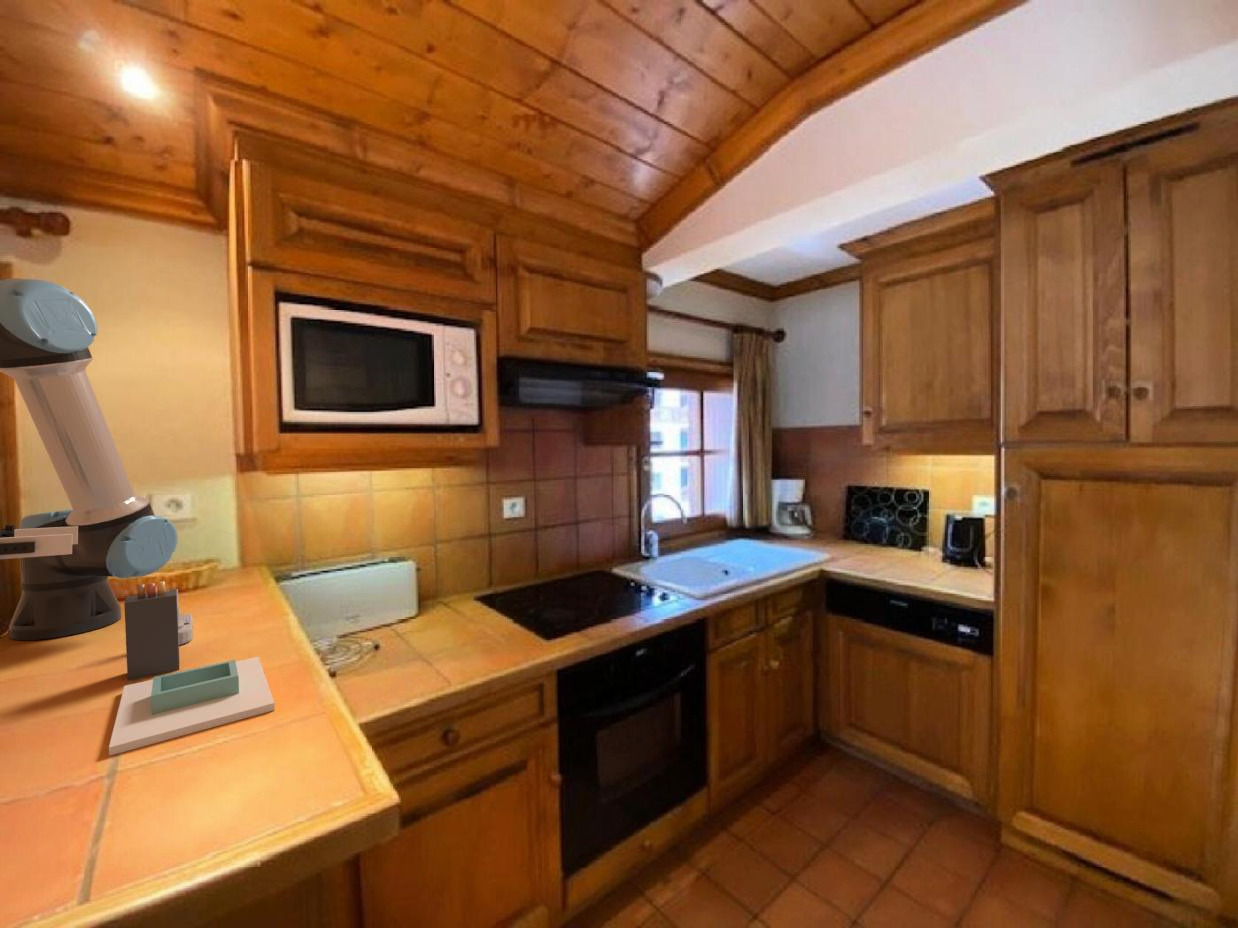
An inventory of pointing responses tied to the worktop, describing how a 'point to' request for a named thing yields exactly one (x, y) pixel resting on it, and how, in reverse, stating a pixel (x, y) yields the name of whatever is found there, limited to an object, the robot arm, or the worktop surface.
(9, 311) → the robot arm
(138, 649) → the block
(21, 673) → the worktop surface
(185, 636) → the electronic device
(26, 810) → the worktop surface
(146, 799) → the worktop surface
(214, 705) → the header board
